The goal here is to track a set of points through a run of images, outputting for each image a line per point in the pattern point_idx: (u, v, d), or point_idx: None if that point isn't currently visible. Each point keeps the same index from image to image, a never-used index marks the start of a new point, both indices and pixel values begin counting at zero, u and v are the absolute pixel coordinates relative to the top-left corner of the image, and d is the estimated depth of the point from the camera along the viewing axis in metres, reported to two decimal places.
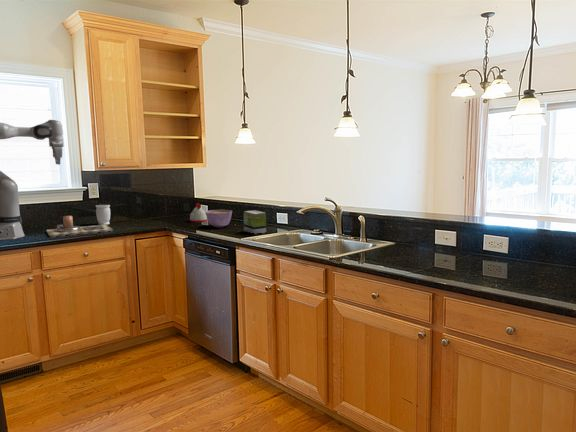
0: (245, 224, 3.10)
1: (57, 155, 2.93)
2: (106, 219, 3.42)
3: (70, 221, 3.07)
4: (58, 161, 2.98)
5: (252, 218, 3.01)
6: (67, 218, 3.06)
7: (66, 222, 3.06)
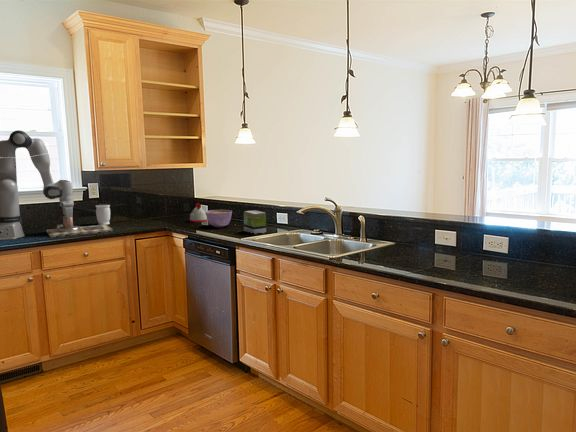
0: (245, 224, 3.10)
1: (67, 215, 2.99)
2: (106, 219, 3.42)
3: (70, 221, 3.07)
4: (68, 220, 3.05)
5: (252, 218, 3.01)
6: None
7: (66, 222, 3.06)
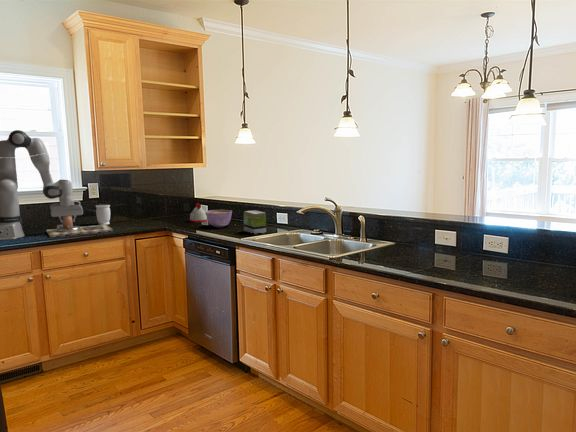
0: (245, 224, 3.10)
1: (82, 212, 3.13)
2: (106, 219, 3.42)
3: None
4: None
5: (252, 218, 3.01)
6: None
7: (72, 221, 3.09)
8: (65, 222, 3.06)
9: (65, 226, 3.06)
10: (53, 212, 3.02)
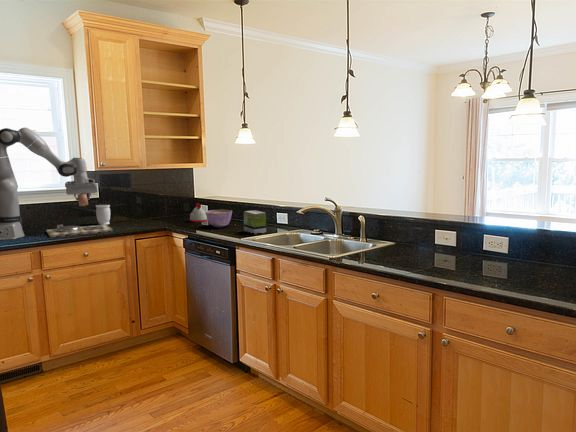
0: (245, 224, 3.10)
1: (97, 190, 3.16)
2: (106, 219, 3.42)
3: None
4: None
5: (252, 218, 3.01)
6: (86, 195, 3.12)
7: (87, 199, 3.12)
8: (80, 200, 3.09)
9: (81, 204, 3.10)
10: (68, 190, 3.05)
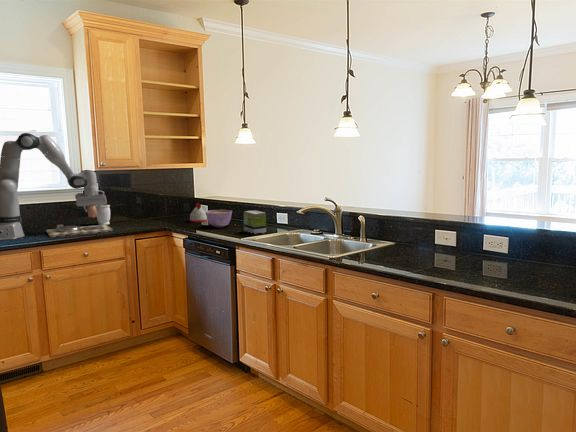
0: (245, 224, 3.10)
1: (106, 202, 3.20)
2: (106, 219, 3.42)
3: None
4: None
5: (252, 218, 3.01)
6: None
7: (96, 210, 3.16)
8: (90, 212, 3.13)
9: (90, 216, 3.14)
10: (78, 202, 3.09)
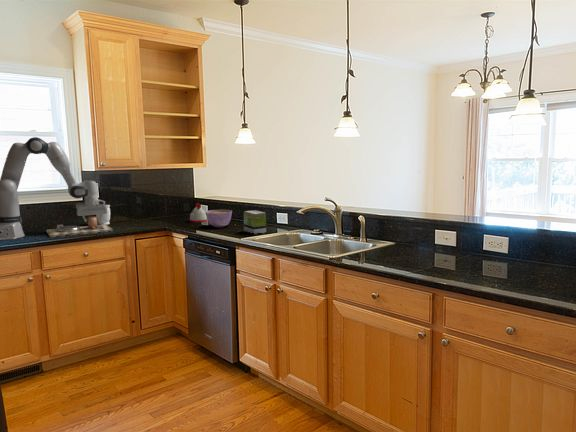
0: (245, 224, 3.10)
1: None
2: (106, 219, 3.42)
3: None
4: None
5: (252, 218, 3.01)
6: (96, 218, 3.18)
7: (96, 222, 3.17)
8: (90, 223, 3.14)
9: (90, 227, 3.15)
10: (79, 211, 3.10)
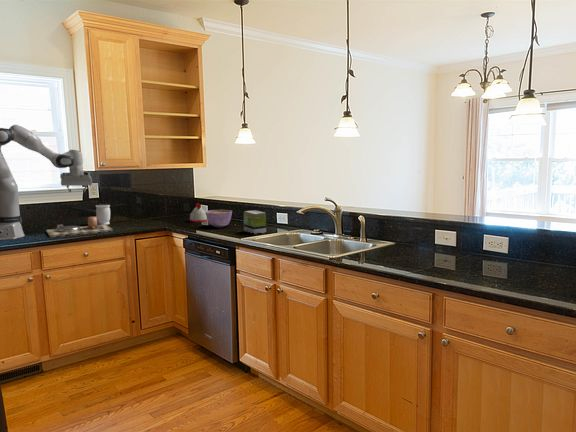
0: (245, 224, 3.10)
1: None
2: (106, 219, 3.42)
3: None
4: (85, 188, 3.19)
5: (252, 218, 3.01)
6: (96, 218, 3.18)
7: (96, 222, 3.17)
8: (90, 223, 3.14)
9: (90, 227, 3.15)
10: (63, 181, 3.09)
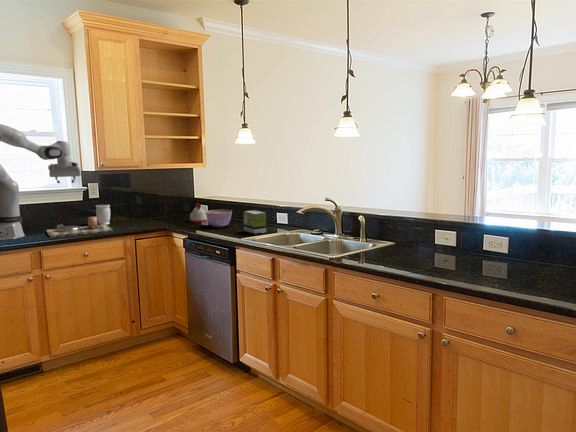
0: (245, 224, 3.10)
1: None
2: (106, 219, 3.42)
3: None
4: (74, 179, 3.21)
5: (252, 218, 3.01)
6: (96, 218, 3.18)
7: (96, 222, 3.17)
8: (90, 223, 3.14)
9: (90, 227, 3.15)
10: (51, 172, 3.10)
